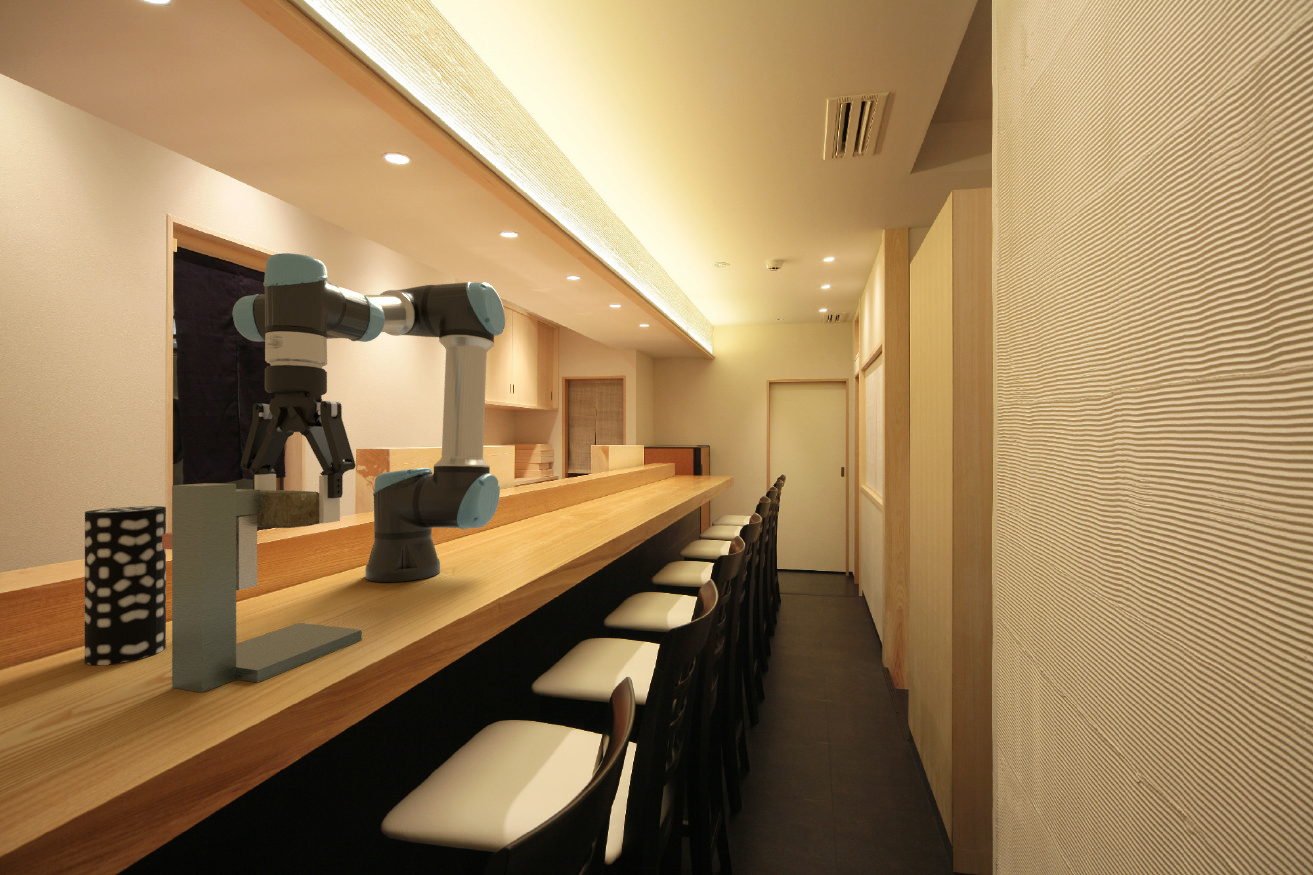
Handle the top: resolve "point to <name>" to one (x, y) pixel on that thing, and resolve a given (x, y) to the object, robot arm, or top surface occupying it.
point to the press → (226, 598)
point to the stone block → (288, 509)
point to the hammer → (238, 550)
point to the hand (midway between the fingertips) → (296, 520)
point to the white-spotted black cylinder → (124, 584)
